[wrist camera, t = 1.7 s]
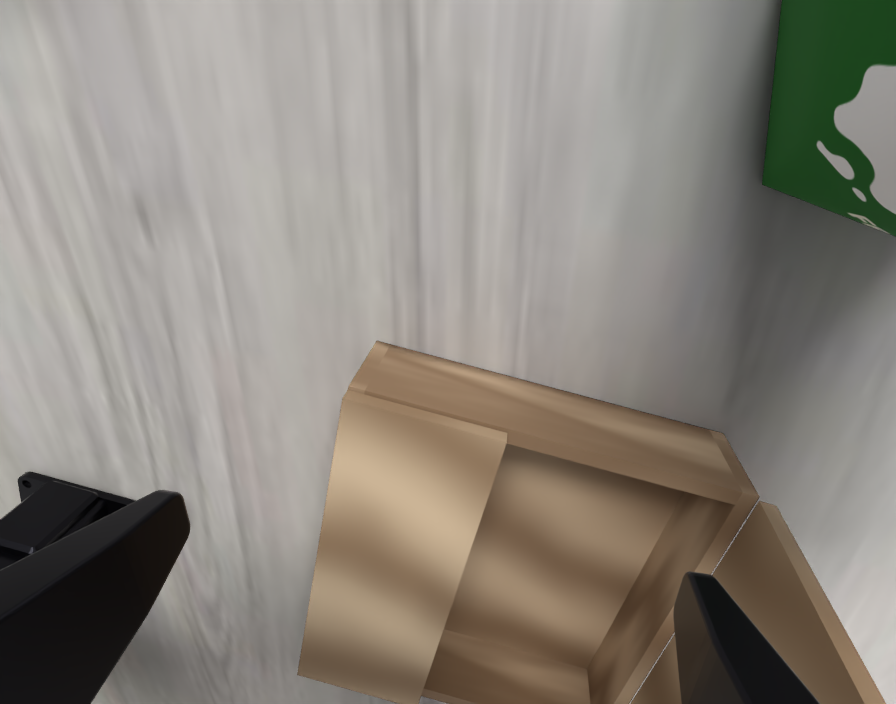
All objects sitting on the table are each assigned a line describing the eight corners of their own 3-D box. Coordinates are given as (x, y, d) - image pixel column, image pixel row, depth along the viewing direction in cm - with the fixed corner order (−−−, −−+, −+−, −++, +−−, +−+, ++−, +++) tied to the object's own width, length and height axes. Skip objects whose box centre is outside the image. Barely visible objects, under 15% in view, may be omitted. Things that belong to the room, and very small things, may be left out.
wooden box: (593, 668, 30) (601, 746, 26) (329, 594, 30) (302, 662, 27) (723, 433, 23) (759, 496, 19) (376, 340, 23) (348, 386, 20)
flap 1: (418, 696, 26) (416, 708, 26) (301, 663, 27) (297, 674, 26) (507, 433, 19) (506, 442, 19) (347, 389, 19) (342, 398, 19)
